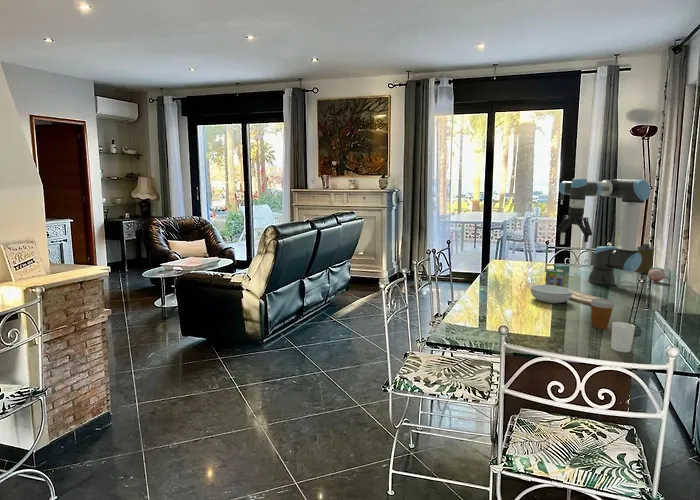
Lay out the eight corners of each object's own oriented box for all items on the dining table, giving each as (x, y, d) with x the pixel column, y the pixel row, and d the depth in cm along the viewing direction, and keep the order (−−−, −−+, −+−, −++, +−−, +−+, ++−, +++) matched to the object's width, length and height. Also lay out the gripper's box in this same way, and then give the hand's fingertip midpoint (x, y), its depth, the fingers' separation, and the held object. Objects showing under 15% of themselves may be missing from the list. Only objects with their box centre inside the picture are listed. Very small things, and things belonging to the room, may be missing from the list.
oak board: (569, 292, 289) (569, 289, 289) (607, 302, 269) (608, 299, 269) (552, 294, 283) (552, 292, 282) (591, 305, 262) (591, 302, 262)
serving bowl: (569, 298, 275) (570, 286, 274) (572, 308, 256) (574, 295, 254) (529, 294, 282) (530, 282, 281) (529, 304, 262) (530, 291, 261)
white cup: (611, 344, 204) (613, 320, 202) (633, 348, 200) (636, 324, 198) (608, 350, 198) (610, 325, 196) (630, 354, 193) (634, 329, 192)
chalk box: (563, 292, 290) (566, 266, 287) (547, 290, 291) (549, 265, 289) (560, 288, 298) (563, 263, 296) (544, 287, 300) (546, 262, 298)
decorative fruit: (648, 282, 321) (650, 267, 319) (646, 280, 328) (648, 265, 326) (665, 284, 317) (667, 268, 315) (662, 281, 325) (665, 266, 323)
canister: (654, 274, 349) (658, 245, 345) (639, 273, 349) (642, 244, 345) (645, 270, 359) (649, 243, 356) (630, 270, 359) (634, 242, 356)
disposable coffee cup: (583, 323, 231) (586, 298, 229) (603, 323, 232) (606, 298, 230) (595, 330, 221) (598, 303, 219) (616, 330, 222) (619, 304, 220)
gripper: (552, 205, 282) (549, 243, 285) (593, 209, 260) (588, 250, 264) (561, 205, 285) (558, 242, 289) (602, 209, 264) (597, 249, 267)
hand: (572, 246), depth 276 cm, fingers open, 13 cm apart
